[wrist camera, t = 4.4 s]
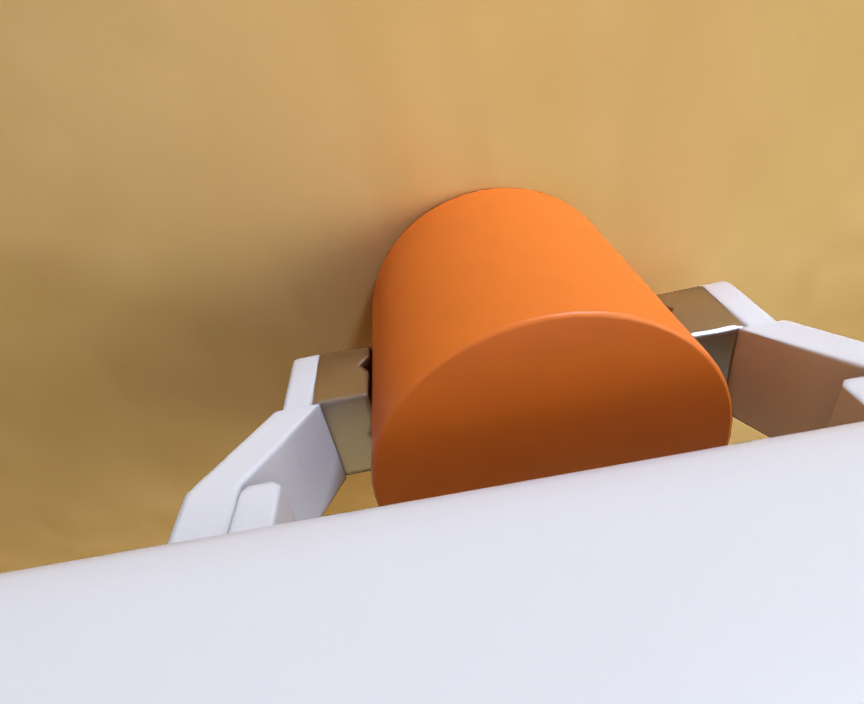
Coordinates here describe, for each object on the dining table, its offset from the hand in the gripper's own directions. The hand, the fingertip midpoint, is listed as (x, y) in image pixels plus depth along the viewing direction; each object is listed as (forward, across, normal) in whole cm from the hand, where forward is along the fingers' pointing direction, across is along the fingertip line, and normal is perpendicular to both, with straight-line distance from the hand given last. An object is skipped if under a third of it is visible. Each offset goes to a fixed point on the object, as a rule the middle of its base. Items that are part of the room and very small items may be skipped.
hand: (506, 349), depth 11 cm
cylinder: (+2, 0, 0) cm, 2 cm away
